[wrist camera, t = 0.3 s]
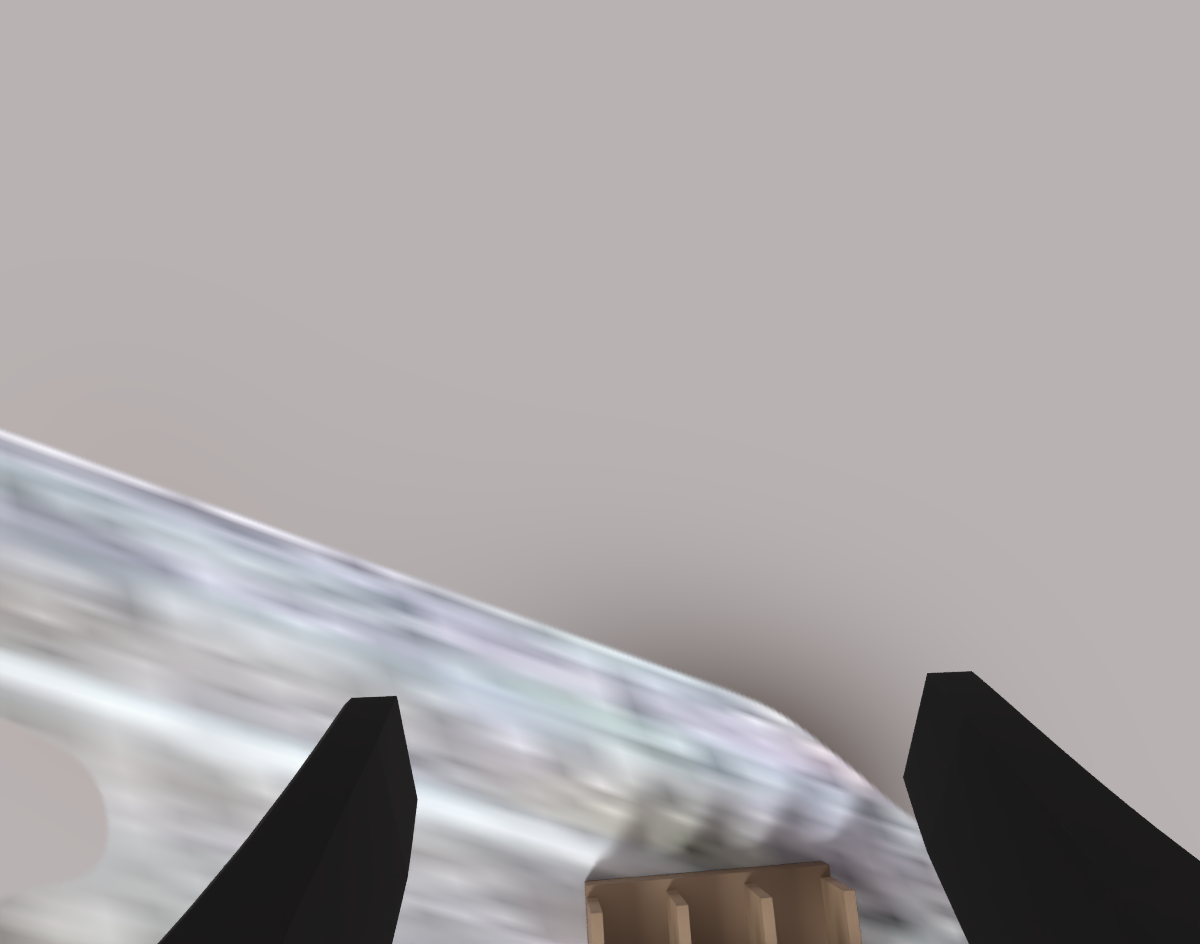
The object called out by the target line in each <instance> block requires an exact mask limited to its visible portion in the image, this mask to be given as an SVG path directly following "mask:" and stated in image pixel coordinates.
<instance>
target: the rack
mask: <svg viewBox="0 0 1200 944" xmlns="http://www.w3.org/2000/svg"><path fill="white" fill-rule="evenodd" d="M585 896H586V915H587V934H588V944H862V940H861V933H860V926H859V918H858V911H857V904H856V897H855V890H853V889H852V888H850V887H848V886H846V885H845V884H843V883H841V882H839V881H837V880H836V879H834V878H832V877H830V869H829V865H828V864H826V863H824V862H822V861H817V862H806V863H794V864H782V865H771V866H759V867H747V868H736V869H724V870H712V871H701V872H689V873H677V874H666V875H654V876H643V877H631V878H619V879H608V880H596V881H585Z"/></svg>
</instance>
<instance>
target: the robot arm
mask: <svg viewBox="0 0 1200 944" xmlns="http://www.w3.org/2000/svg"><path fill="white" fill-rule="evenodd" d="M903 778H904V781H905V785H906V788H907V791H908V794H909V798H910V801H911V804H912V807H913V810H914V814H915V817H916V820H917V823H918V826H919V829H920V832H921V835H922V838H923V841H924V844H925V847H926V850H927V852H928V855H929V857H930V859H931V861H932V864H933V866H934V868H935V870H936V873H937V875H938V877H939V879H940V882H941V884H942V886H943V888H944V890H945V893H946V895H947V897H948V899H949V901H950V904H951V906H952V908H953V910H954V912H955V915H956V917H957V919H958V921H959V923H960V925H961V928H962V930H963V932H964V934H965V936H966V938H967V940H968V943H969V944H1200V861H1199V860H1198V859H1197V858H1195V857H1194V856H1193V855H1191V854H1190V853H1189V852H1187V851H1186V850H1185V849H1183V848H1182V847H1181V846H1179V845H1178V844H1177V843H1176V842H1174V841H1173V840H1172V839H1170V838H1169V837H1168V836H1167V835H1165V834H1164V833H1163V832H1161V831H1160V830H1159V829H1157V828H1156V827H1155V826H1154V825H1152V824H1151V823H1150V822H1149V821H1147V820H1146V819H1145V818H1144V817H1142V816H1141V815H1140V814H1139V813H1137V812H1136V811H1135V810H1134V809H1132V808H1131V807H1130V806H1129V805H1127V804H1126V803H1125V802H1124V801H1123V800H1121V799H1120V798H1119V797H1118V796H1116V795H1115V794H1114V793H1113V792H1112V791H1110V790H1109V789H1108V788H1107V787H1105V786H1104V785H1103V784H1102V783H1101V782H1100V781H1098V780H1097V779H1096V778H1095V777H1094V776H1092V775H1091V774H1090V773H1089V772H1088V771H1086V770H1085V769H1084V768H1083V767H1082V766H1081V765H1079V764H1078V763H1077V762H1076V761H1075V760H1074V759H1072V758H1071V757H1070V756H1069V755H1068V754H1066V753H1065V752H1064V751H1063V750H1062V749H1061V748H1059V747H1058V746H1057V745H1056V744H1055V743H1054V742H1053V741H1051V740H1050V739H1049V738H1048V737H1047V736H1046V735H1045V734H1044V733H1042V732H1041V731H1040V730H1039V729H1038V728H1037V727H1035V726H1034V725H1033V724H1032V723H1031V722H1030V721H1029V720H1027V719H1026V718H1025V717H1024V716H1023V715H1022V714H1020V712H1018V711H1017V710H1016V709H1015V708H1014V707H1013V706H1012V705H1010V704H1009V703H1008V702H1007V701H1006V700H1005V699H1004V698H1002V697H1001V696H1000V695H999V694H998V693H997V692H995V691H994V690H993V689H992V688H991V687H990V686H989V685H987V684H986V683H985V682H983V680H981V679H980V678H979V677H978V676H977V675H976V674H974V673H973V672H972V671H967V672H944V673H927V677H926V681H925V686H924V690H923V695H922V698H921V703H920V707H919V711H918V716H917V720H916V724H915V729H914V733H913V738H912V742H911V746H910V750H909V755H908V759H907V764H906V768H905V772H904V776H903ZM416 808H417V795H416V790H415V785H414V780H413V775H412V770H411V765H410V760H409V755H408V750H407V745H406V740H405V735H404V730H403V725H402V720H401V715H400V710H399V705H398V700H397V696H386V697H363V698H351V699H350V700H349V701H348V702H347V703H346V704H345V705H344V706H343V708H342V709H341V711H340V712H339V714H338V715H337V716H336V718H335V719H334V721H333V722H332V724H331V725H330V727H329V728H328V730H327V731H326V732H325V734H324V735H323V737H322V738H321V740H320V741H319V743H318V744H317V745H316V747H315V748H314V750H313V751H312V752H311V754H310V755H309V757H308V758H307V760H306V761H305V762H304V764H303V765H302V766H301V768H300V769H299V771H298V772H297V773H296V775H295V776H294V777H293V779H292V780H291V782H290V783H289V784H288V786H287V787H286V788H285V790H284V791H283V792H282V794H281V795H280V796H279V798H278V799H277V800H276V802H275V803H274V804H273V805H272V807H271V808H270V809H269V811H268V812H267V813H266V815H265V816H264V817H263V819H262V820H261V821H260V822H259V824H258V825H257V826H256V828H255V829H254V830H253V832H252V833H251V834H250V836H249V837H248V838H247V839H246V841H245V842H244V843H243V844H242V846H241V847H240V848H239V849H238V851H237V852H236V853H235V854H234V855H233V857H232V858H231V859H230V860H229V861H228V863H227V864H226V865H225V866H224V867H223V869H222V870H221V871H220V872H219V873H218V875H217V876H216V877H215V878H214V879H213V881H212V882H211V883H210V884H209V885H208V887H207V888H206V889H205V890H204V891H203V893H202V894H201V895H200V896H199V897H198V899H197V900H196V901H195V902H194V903H193V905H192V906H191V907H190V908H189V909H188V910H187V911H186V913H185V914H184V915H183V916H182V917H181V918H180V919H179V921H178V922H177V923H176V924H175V925H174V926H173V927H172V928H171V929H170V931H169V932H168V933H167V934H166V935H165V936H164V937H163V938H162V939H161V941H160V942H159V943H158V944H392V942H393V937H394V933H395V929H396V925H397V920H398V916H399V912H400V908H401V904H402V899H403V895H404V891H405V886H406V882H407V877H408V871H409V863H410V856H411V849H412V841H413V833H414V824H415V816H416Z"/></svg>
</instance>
